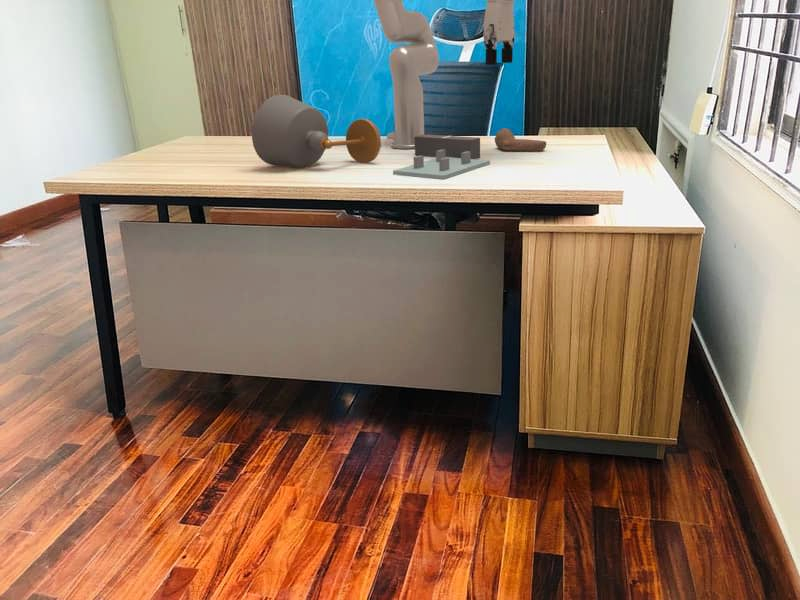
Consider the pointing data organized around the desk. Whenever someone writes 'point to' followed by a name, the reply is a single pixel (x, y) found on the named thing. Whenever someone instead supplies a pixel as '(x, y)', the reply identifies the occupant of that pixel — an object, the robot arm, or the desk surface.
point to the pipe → (517, 142)
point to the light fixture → (305, 134)
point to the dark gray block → (446, 145)
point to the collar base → (441, 166)
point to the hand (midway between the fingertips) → (499, 63)
